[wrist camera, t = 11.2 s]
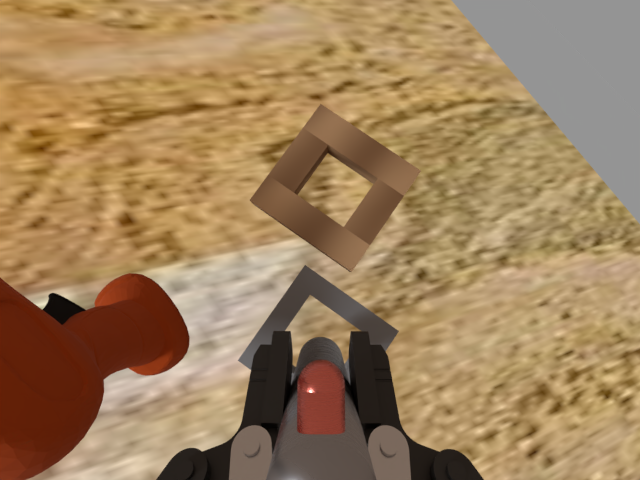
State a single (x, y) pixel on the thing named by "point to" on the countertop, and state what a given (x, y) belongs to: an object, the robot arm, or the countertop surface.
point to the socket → (330, 297)
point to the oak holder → (358, 154)
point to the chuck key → (320, 422)
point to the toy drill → (75, 364)
